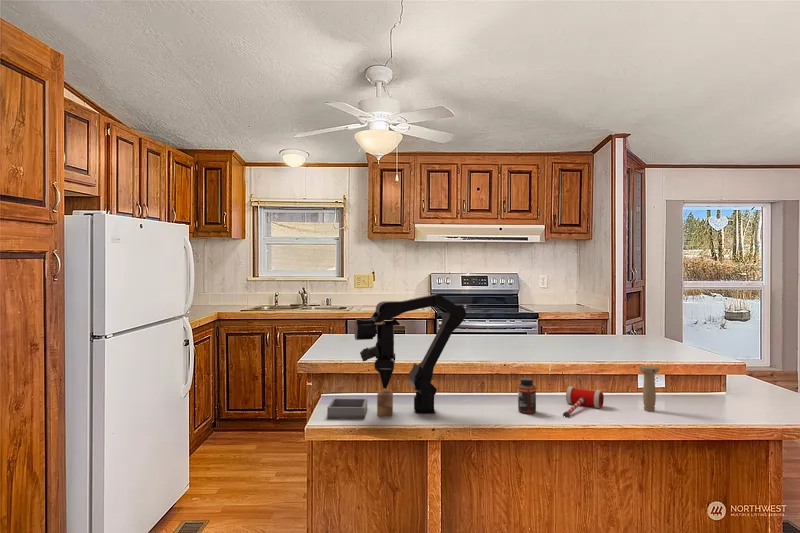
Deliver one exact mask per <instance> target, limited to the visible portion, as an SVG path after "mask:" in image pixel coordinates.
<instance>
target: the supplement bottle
mask: <svg viewBox="0 0 800 533" xmlns="http://www.w3.org/2000/svg"><path fill="white" fill-rule="evenodd" d="M536 389H537V388H536V385H535V384H534V379H533V378H531V377H521V378H520V384H519V385H518V386H517V405H518V406H517V411H518V412H519V413H521V412H522V414H525V413H528V414H527V415H529V414H530V413H532V414H535V413H536V412H537V390H536Z"/></svg>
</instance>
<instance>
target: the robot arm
mask: <svg viewBox="0 0 800 533" xmlns="http://www.w3.org/2000/svg"><path fill="white" fill-rule="evenodd" d="M430 307H435V308H436V309H438V310H439V311H440V312H442V313H443V314H442V317H441V325H440V327H439V328H438V331H437V332H436V334H435V336H434V338H433V340H432V342H431V343H430V346H429V347H428V349H427V351H426V353H425V355H424V357H423V359H422V361H420V363H419V364H417V363H414V364H413V365H412V369H410V371H408V375H409V376H408V380H409V384H410V386H412V387H413V388H414V391H415V396H413V409H414V411H415V413H416V414H435V413H436V412H435V411H436V410H435V396H436V394H437V391H438V389H437V388H436V386H434V385H433V384H432V380H433V375H434V368H435V366H436V364H437V362H438V360H439V358H440V356H442V355H441V354H442V353H443V351H444V349H445V347H446V345H447V343H448V341H449V339H450V338H451V336H452V334H453V332H454V331H455V330H456V329H457V328H459V326H461V324H462V322H463V321H464V320H465V319H466V317H467V311H466V309H465V307H464V306H462V305H459V304H455V303H454V302H452V301H450V300H448V299H447V298H446V297H444V296H443V295H442V294H440V293H432V294H429V295H424V296H420V297H415V298H410V299H404V300H399V301H397V300H394V301H393V300H390V301H389V300H386V301H380V302H378V303H377V305H376V306H375V311H374V312H373V314H372V316H371V317H370V318H369V319H359V318H357V319H355V324H354V329H353V330H354V331H353V333H354V339H355V341H364V340H366V341H367V340H370V341H371V340H374V338H375V337H376V342H375V345H374V346H371V347H366V348H363V349H362V350H361V351H360V352H359V354H360V359H361V360H362V362H367V361H368V360H370V359H373V358H375V361H374V370H375V371H377V373H378V374H379V375H380V380H381V385H382V388H383V389H387V388H388V385H389V383H390V380H391V377H392V375H393V372H394V368H395V362H396V353H395V326H400V325H401V323H400V322H399V321H397V319H396V317H399V316H400V315H402V314H404V313H407V312H411V311H417V310H419V309H420V310H421V309H425V308H430Z"/></svg>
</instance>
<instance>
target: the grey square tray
mask: <svg viewBox="0 0 800 533" xmlns="http://www.w3.org/2000/svg"><path fill="white" fill-rule="evenodd" d="M326 411H327V415H326V417H327V419H340V418H345V419H346V418H347V419H351V420H352V419H353V420H355V419H356V420H357V419H361V420H364V419H365V418H366V415H365V414H367V412H366V411H368V398H340V397H339V398H332V400H331V401H330V403H329V404H328V406H327V409H326ZM347 419H346V420H347Z"/></svg>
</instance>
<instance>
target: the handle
mask: <svg viewBox="0 0 800 533" xmlns="http://www.w3.org/2000/svg"><path fill="white" fill-rule="evenodd" d="M638 370H639V372H641V373H642V374H643V386H642V389H643V390H642V401H643V402H642V403H643V409H644V411H646V410H647V411H646V412H651V411H653V412H655V409H656V407H655V406H656V401H657V400H656V398H657V393H656V379H655V378H656V377H655V376H656V374H657V373H659V372H660V367H658V366H655V365H652V366H651V365H641V366H639V367H638Z"/></svg>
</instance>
